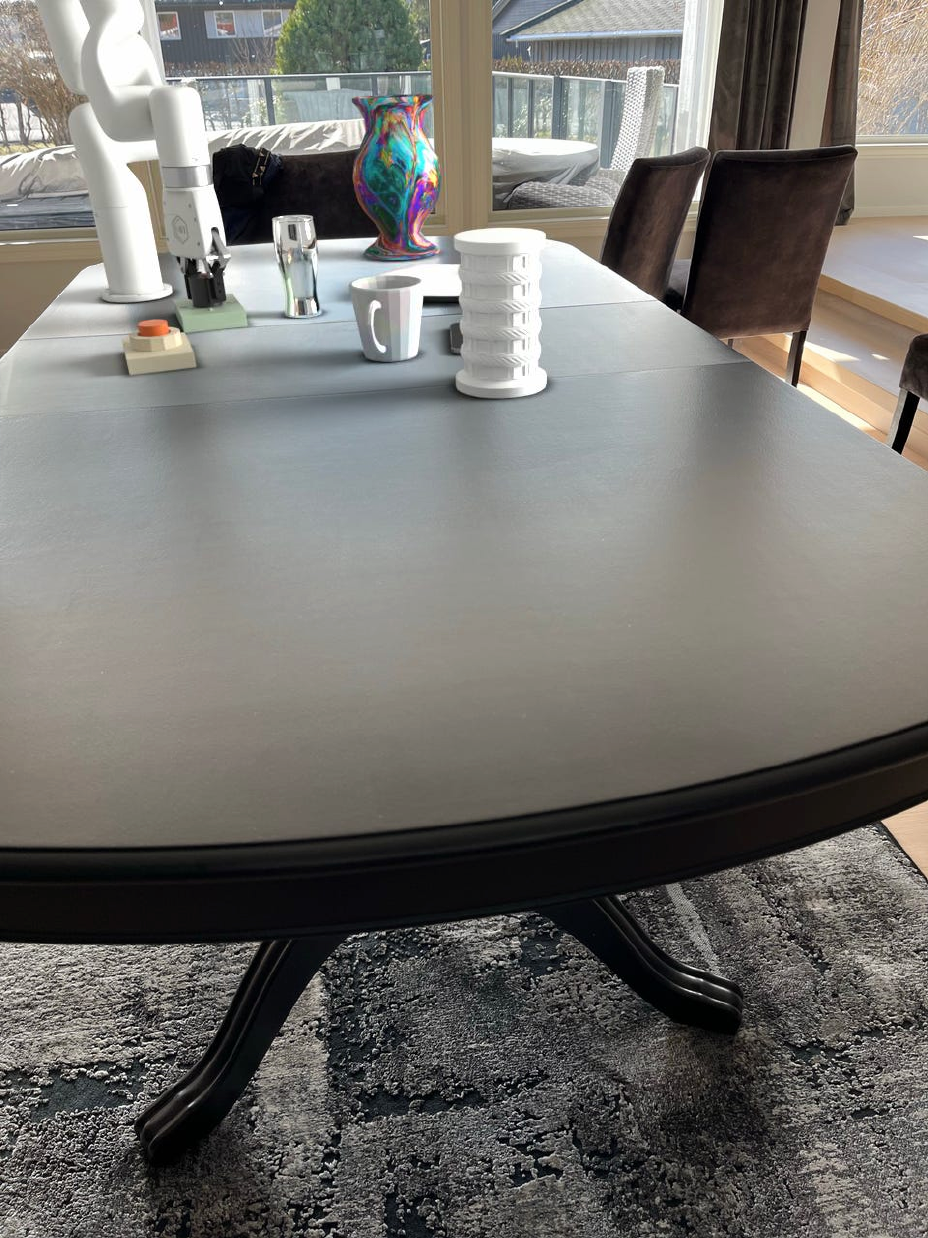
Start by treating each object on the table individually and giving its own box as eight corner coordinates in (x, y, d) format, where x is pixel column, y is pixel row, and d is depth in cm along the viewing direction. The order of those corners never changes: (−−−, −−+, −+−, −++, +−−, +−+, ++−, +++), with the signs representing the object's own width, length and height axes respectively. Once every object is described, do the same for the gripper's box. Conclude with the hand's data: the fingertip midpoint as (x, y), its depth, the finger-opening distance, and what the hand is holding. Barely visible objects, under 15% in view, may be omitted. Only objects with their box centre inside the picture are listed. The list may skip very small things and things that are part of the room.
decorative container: (438, 390, 119) (431, 239, 110) (485, 367, 128) (482, 225, 119) (518, 403, 114) (518, 245, 105) (561, 378, 122) (565, 230, 113)
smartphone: (451, 349, 133) (449, 322, 146) (451, 354, 134) (449, 327, 147) (505, 347, 133) (499, 320, 146) (505, 352, 134) (499, 325, 147)
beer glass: (316, 319, 155) (305, 220, 147) (276, 318, 156) (263, 220, 148) (329, 309, 160) (320, 214, 153) (291, 308, 162) (280, 214, 154)
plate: (341, 301, 165) (340, 289, 164) (406, 271, 187) (405, 261, 186) (484, 310, 156) (483, 298, 155) (535, 278, 178) (535, 267, 177)
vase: (457, 249, 207) (453, 93, 192) (420, 264, 193) (412, 97, 178) (384, 245, 214) (374, 94, 198) (343, 260, 200) (328, 98, 184)
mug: (435, 346, 138) (432, 274, 133) (409, 375, 126) (404, 298, 120) (366, 344, 140) (361, 273, 135) (334, 373, 127) (327, 296, 122)
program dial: (187, 305, 155) (181, 274, 152) (211, 299, 158) (206, 269, 155) (204, 308, 152) (199, 277, 150) (228, 303, 155) (224, 272, 153)
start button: (139, 333, 135) (136, 321, 134) (168, 330, 136) (165, 318, 135) (141, 340, 132) (138, 327, 131) (170, 336, 133) (168, 324, 132)
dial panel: (175, 314, 161) (172, 298, 159) (234, 308, 163) (232, 292, 162) (184, 333, 149) (181, 315, 148) (247, 325, 152) (245, 309, 151)
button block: (125, 354, 139) (119, 326, 137) (187, 346, 142) (182, 319, 140) (129, 375, 129) (123, 346, 127) (196, 367, 132) (191, 338, 130)
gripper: (135, 178, 148) (158, 298, 157) (200, 183, 138) (220, 311, 147) (175, 173, 153) (195, 290, 162) (241, 178, 143) (258, 302, 152)
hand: (207, 298), depth 155 cm, fingers closed on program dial, 4 cm apart
